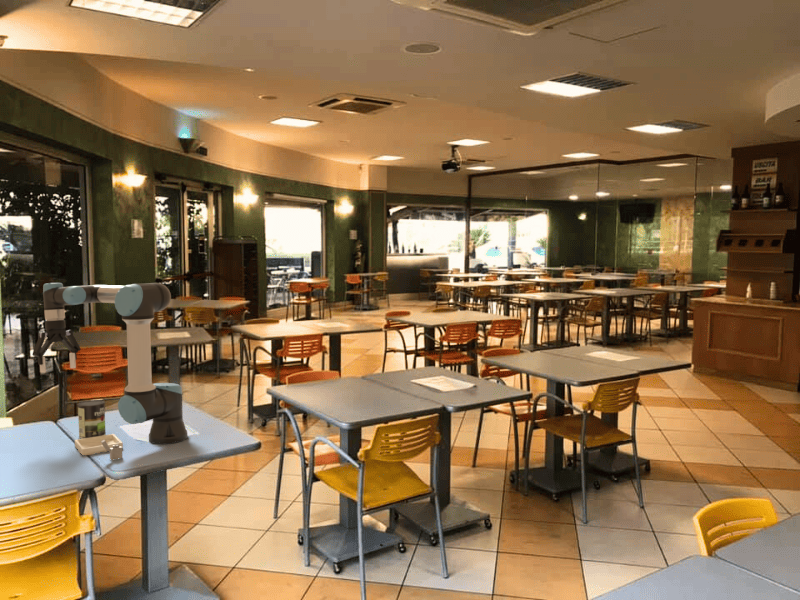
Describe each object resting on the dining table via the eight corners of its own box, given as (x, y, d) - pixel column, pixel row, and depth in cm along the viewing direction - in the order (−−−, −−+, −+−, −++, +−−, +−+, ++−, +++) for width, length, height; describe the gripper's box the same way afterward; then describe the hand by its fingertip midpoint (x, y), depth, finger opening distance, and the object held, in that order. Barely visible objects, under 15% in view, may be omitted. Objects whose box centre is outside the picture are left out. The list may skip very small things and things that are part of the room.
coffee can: (111, 433, 284) (110, 400, 283) (95, 440, 274) (94, 406, 273) (89, 431, 286) (88, 399, 285) (73, 438, 276) (71, 405, 275)
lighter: (121, 457, 253) (120, 436, 252) (122, 458, 252) (121, 437, 251) (101, 461, 249) (100, 440, 248) (102, 462, 247) (101, 441, 247)
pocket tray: (122, 449, 263) (122, 442, 263) (82, 455, 254) (82, 449, 254) (113, 440, 275) (113, 433, 275) (74, 446, 266) (74, 439, 266)
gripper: (76, 318, 294) (79, 366, 294) (20, 322, 272) (24, 374, 273) (87, 317, 290) (90, 366, 291) (32, 321, 269) (35, 374, 269)
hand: (58, 370), depth 282 cm, fingers open, 13 cm apart
